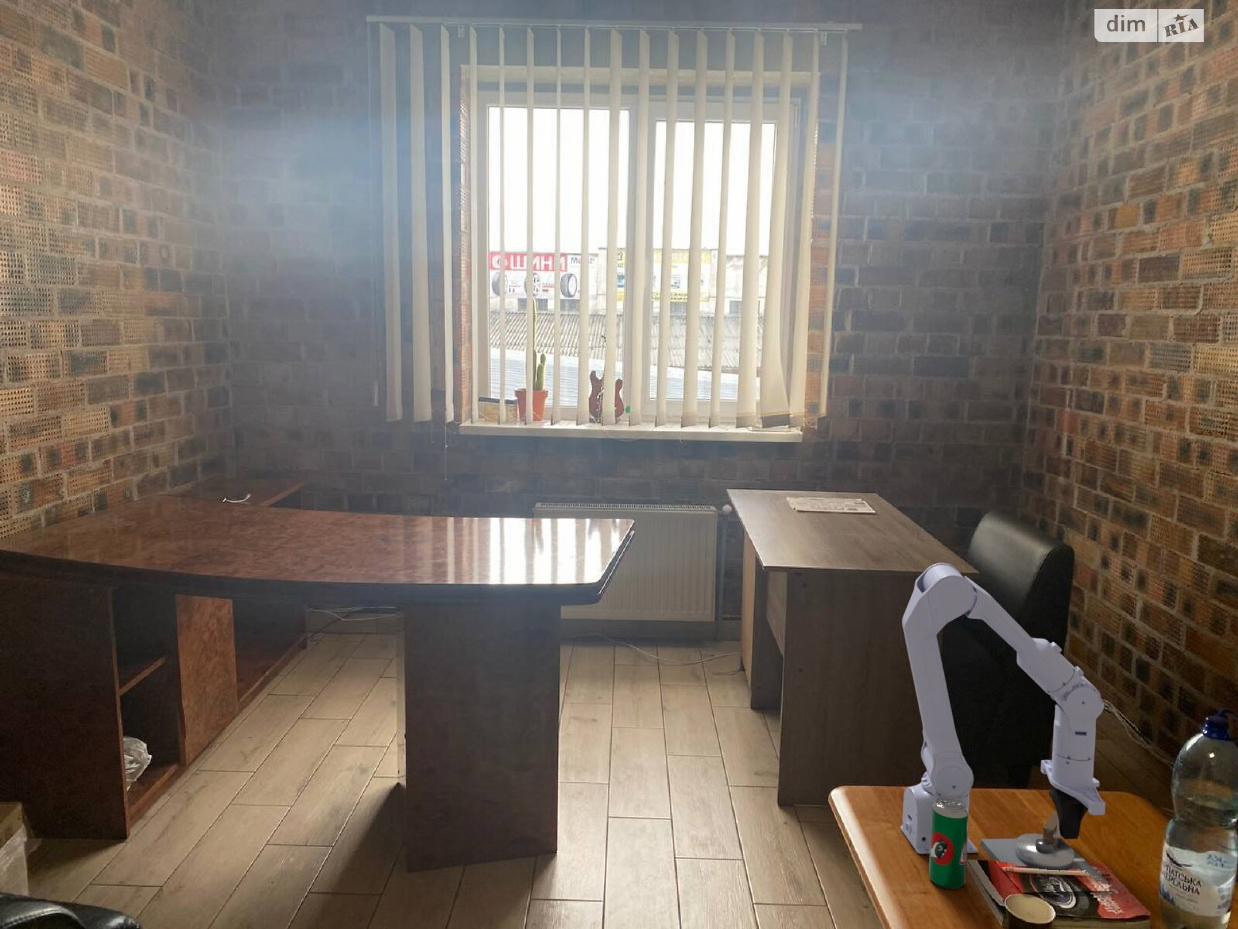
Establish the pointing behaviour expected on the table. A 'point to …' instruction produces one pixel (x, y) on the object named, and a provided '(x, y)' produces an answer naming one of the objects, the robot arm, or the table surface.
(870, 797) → the table surface
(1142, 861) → the table surface
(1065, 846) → the cam
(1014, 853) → the stand plate
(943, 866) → the soda can
